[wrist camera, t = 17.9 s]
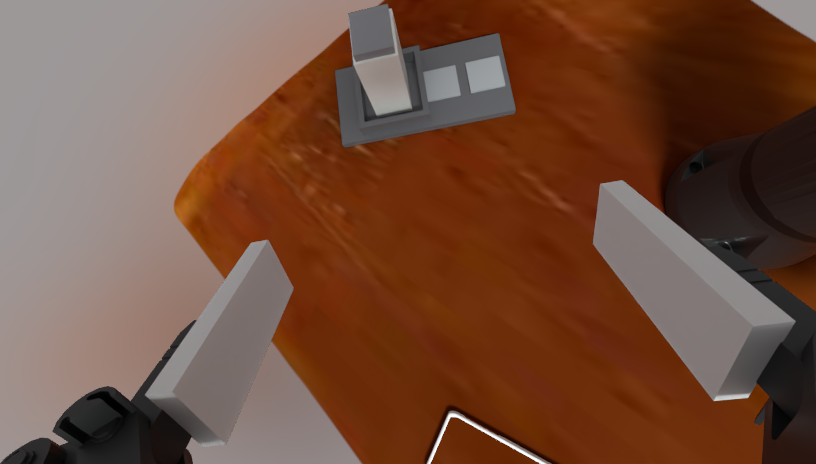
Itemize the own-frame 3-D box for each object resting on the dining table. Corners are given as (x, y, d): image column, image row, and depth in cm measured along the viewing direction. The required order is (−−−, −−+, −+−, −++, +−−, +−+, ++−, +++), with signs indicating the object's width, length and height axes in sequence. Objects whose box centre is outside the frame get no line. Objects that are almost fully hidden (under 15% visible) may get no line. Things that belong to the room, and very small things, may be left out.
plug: (407, 72, 48) (389, 0, 36) (412, 110, 47) (396, 48, 35) (373, 80, 48) (345, 11, 37) (377, 117, 47) (350, 58, 35)
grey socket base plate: (497, 38, 48) (500, 21, 45) (514, 113, 45) (518, 101, 42) (337, 74, 51) (329, 61, 48) (344, 147, 48) (337, 137, 45)
